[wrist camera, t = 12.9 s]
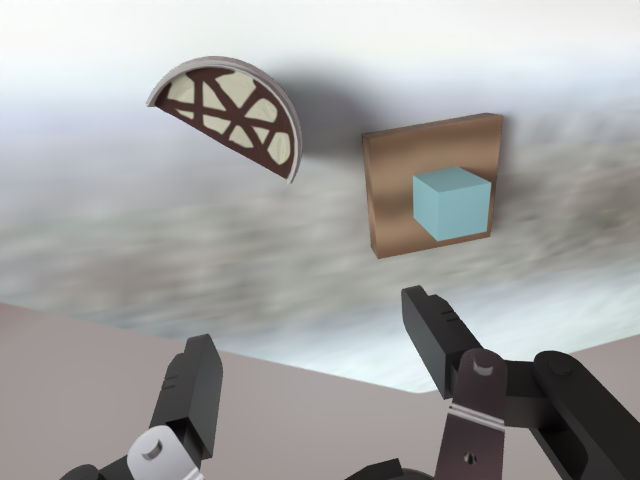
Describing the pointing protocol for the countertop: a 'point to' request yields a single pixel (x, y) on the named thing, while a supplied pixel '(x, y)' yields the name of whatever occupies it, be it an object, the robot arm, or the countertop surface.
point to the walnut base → (420, 157)
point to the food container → (235, 110)
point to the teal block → (451, 202)
